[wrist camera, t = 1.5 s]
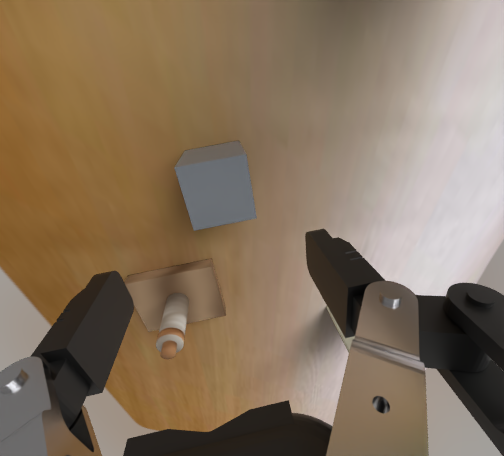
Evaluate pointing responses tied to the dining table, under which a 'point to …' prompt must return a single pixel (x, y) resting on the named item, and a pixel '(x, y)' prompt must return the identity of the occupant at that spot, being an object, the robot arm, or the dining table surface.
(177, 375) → the dining table surface
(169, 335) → the wooden stand with post
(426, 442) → the robot arm
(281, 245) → the dining table surface
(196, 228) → the blue-grey rectangular block
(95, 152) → the dining table surface
